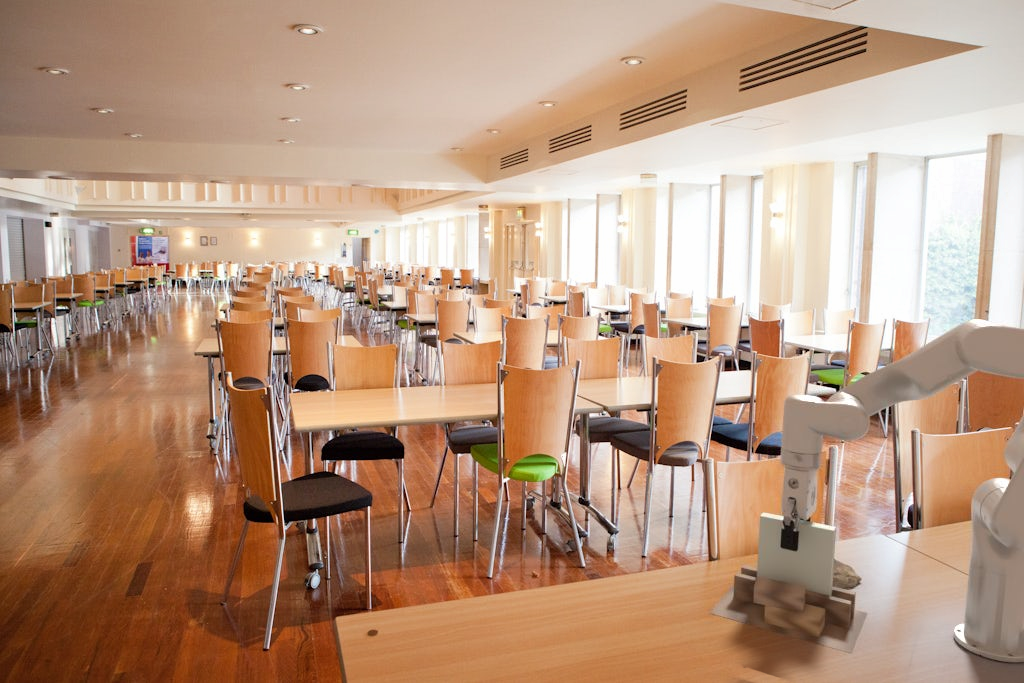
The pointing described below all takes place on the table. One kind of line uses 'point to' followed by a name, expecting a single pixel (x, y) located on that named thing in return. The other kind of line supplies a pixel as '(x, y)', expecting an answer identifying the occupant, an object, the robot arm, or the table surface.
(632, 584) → the table surface
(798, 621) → the offcut lower
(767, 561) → the panel
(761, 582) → the offcut upper
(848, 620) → the rack
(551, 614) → the table surface
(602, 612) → the table surface
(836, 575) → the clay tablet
